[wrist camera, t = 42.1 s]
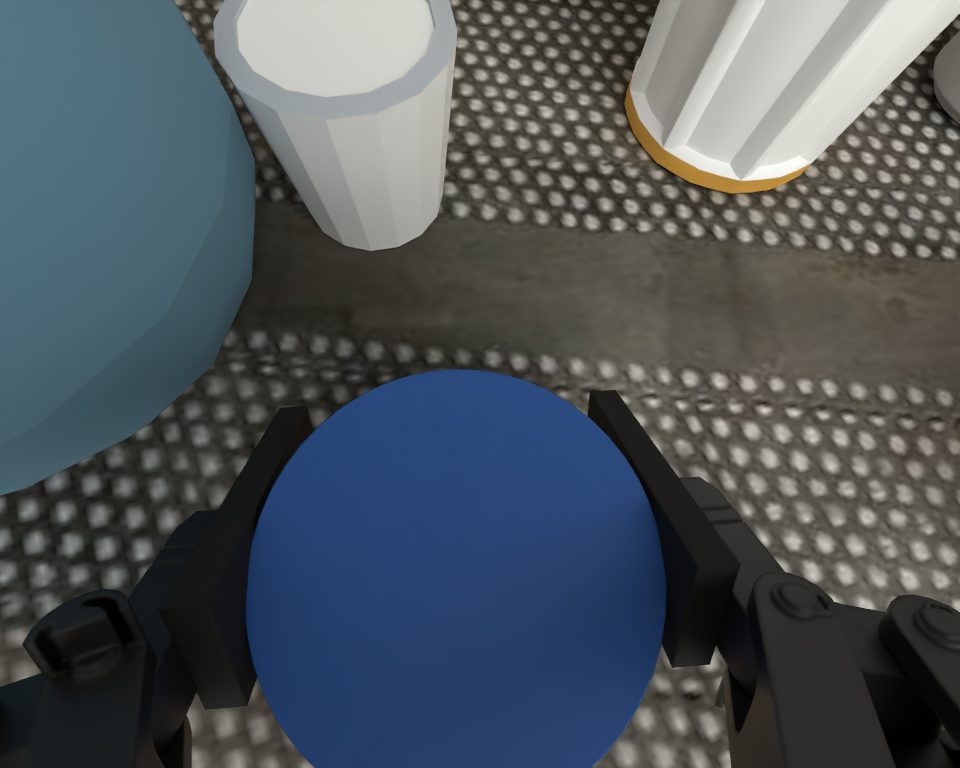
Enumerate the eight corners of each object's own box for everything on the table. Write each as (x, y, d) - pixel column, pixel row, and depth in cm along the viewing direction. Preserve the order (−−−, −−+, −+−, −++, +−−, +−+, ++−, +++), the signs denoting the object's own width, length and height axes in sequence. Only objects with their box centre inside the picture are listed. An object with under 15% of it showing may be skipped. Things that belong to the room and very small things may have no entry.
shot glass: (301, 127, 21) (230, -64, 14) (457, 131, 21) (458, -53, 15) (282, 262, 19) (188, 111, 12) (456, 265, 19) (456, 119, 13)
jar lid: (402, 339, 13) (392, 305, 11) (686, 486, 12) (725, 476, 10) (204, 643, 10) (149, 664, 9) (540, 861, 9) (558, 936, 8)
